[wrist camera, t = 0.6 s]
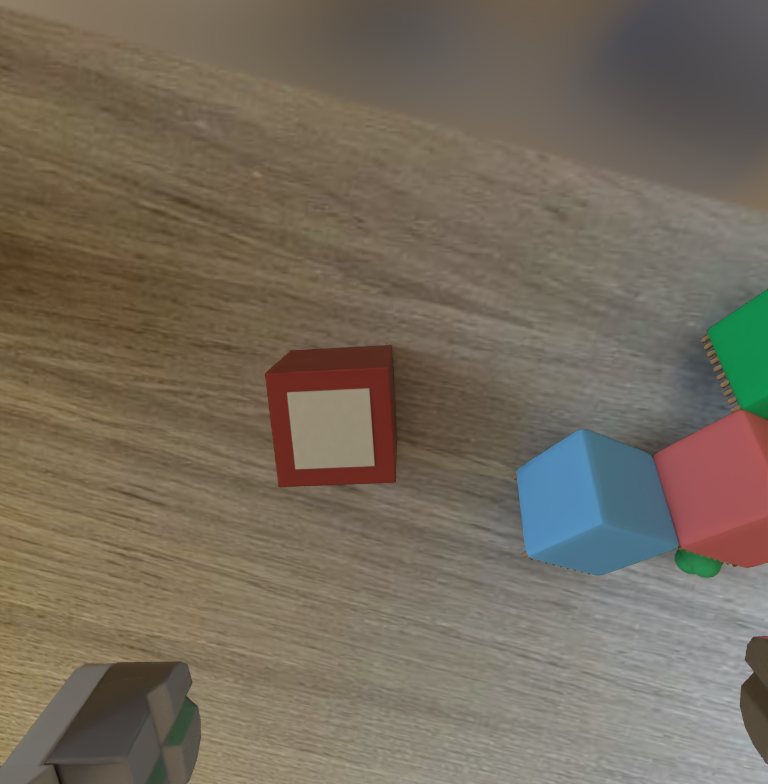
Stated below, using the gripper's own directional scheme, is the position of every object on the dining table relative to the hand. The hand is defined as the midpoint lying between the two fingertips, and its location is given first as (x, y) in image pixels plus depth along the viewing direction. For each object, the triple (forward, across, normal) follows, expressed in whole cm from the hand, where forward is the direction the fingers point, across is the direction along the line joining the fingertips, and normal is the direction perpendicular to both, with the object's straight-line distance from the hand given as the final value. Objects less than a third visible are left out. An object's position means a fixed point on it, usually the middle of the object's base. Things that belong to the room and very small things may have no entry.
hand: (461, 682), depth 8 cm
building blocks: (+10, -9, +1) cm, 14 cm away
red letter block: (+17, +3, 0) cm, 17 cm away
